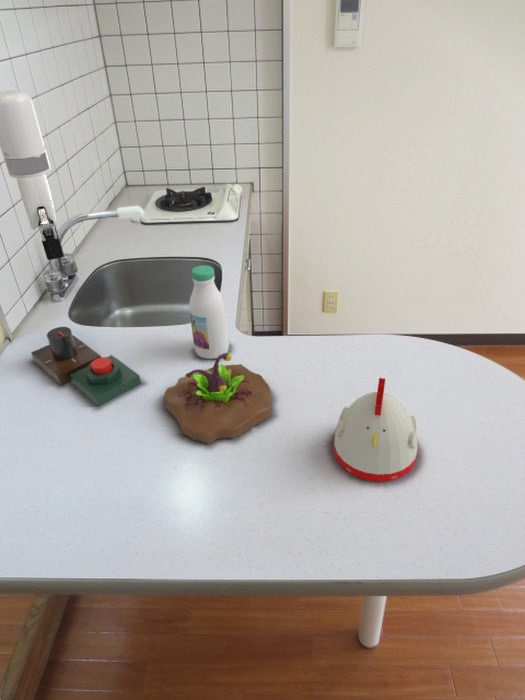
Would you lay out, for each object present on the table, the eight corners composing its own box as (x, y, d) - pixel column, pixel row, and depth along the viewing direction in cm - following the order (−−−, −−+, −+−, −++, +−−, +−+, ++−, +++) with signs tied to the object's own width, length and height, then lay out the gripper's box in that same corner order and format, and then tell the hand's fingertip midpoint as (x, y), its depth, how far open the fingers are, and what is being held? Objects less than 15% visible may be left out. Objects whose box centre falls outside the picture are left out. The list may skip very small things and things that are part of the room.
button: (89, 370, 108) (87, 363, 107) (106, 361, 110) (104, 354, 109) (99, 378, 105) (97, 371, 104) (116, 369, 108) (114, 362, 107)
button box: (72, 383, 110) (67, 368, 108) (113, 362, 116) (109, 347, 114) (98, 406, 104) (93, 390, 101) (141, 383, 109) (137, 368, 107)
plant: (290, 415, 99) (289, 367, 93) (195, 455, 91) (187, 406, 85) (242, 363, 114) (238, 319, 107) (156, 393, 106) (147, 348, 100)
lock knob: (49, 354, 115) (42, 332, 112) (70, 344, 118) (63, 322, 115) (60, 363, 112) (52, 340, 109) (81, 353, 115) (74, 331, 112)
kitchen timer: (327, 473, 87) (330, 403, 78) (340, 418, 98) (343, 352, 89) (414, 488, 83) (427, 416, 75) (417, 430, 94) (428, 361, 86)
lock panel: (34, 361, 118) (30, 351, 116) (74, 343, 123) (72, 333, 122) (60, 385, 110) (57, 375, 108) (103, 365, 115) (100, 355, 114)
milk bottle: (224, 338, 122) (216, 258, 111) (233, 355, 116) (225, 273, 105) (192, 344, 121) (180, 265, 109) (199, 363, 114) (187, 280, 103)
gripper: (6, 157, 104) (32, 239, 114) (8, 179, 91) (37, 269, 100) (45, 152, 106) (67, 232, 116) (53, 172, 93) (77, 261, 103)
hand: (53, 249), depth 108 cm, fingers open, 9 cm apart
